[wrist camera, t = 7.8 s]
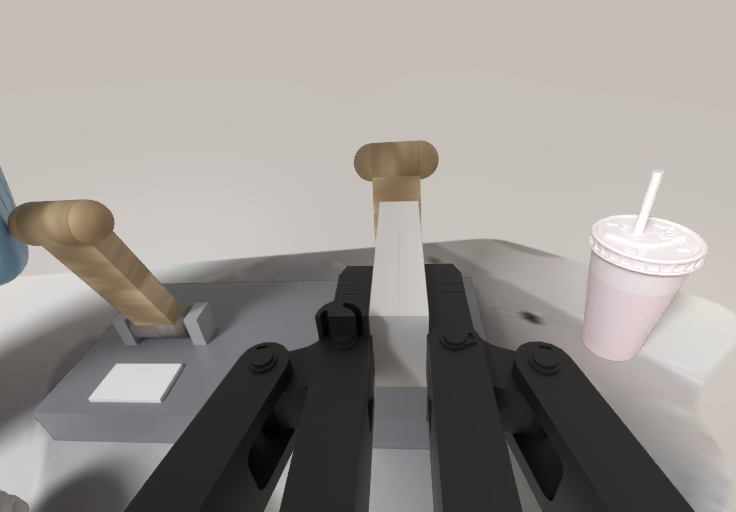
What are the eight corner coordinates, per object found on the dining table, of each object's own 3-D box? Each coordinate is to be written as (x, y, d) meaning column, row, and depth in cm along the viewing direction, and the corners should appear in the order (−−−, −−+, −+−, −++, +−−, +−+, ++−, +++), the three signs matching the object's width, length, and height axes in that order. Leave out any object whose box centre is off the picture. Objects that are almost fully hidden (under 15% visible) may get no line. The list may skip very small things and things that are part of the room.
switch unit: (54, 440, 27) (9, 387, 24) (160, 308, 38) (138, 262, 36) (502, 451, 24) (513, 391, 21) (468, 304, 35) (472, 253, 32)
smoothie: (555, 313, 33) (592, 154, 26) (638, 318, 32) (702, 152, 25) (575, 372, 28) (629, 192, 21) (675, 380, 27) (771, 192, 19)
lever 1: (134, 343, 30) (-16, 226, 20) (146, 315, 32) (13, 193, 21) (200, 342, 29) (82, 222, 19) (209, 315, 31) (104, 188, 21)
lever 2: (363, 342, 27) (350, 144, 24) (366, 327, 29) (355, 144, 26) (440, 342, 27) (440, 139, 23) (438, 326, 29) (436, 139, 25)
